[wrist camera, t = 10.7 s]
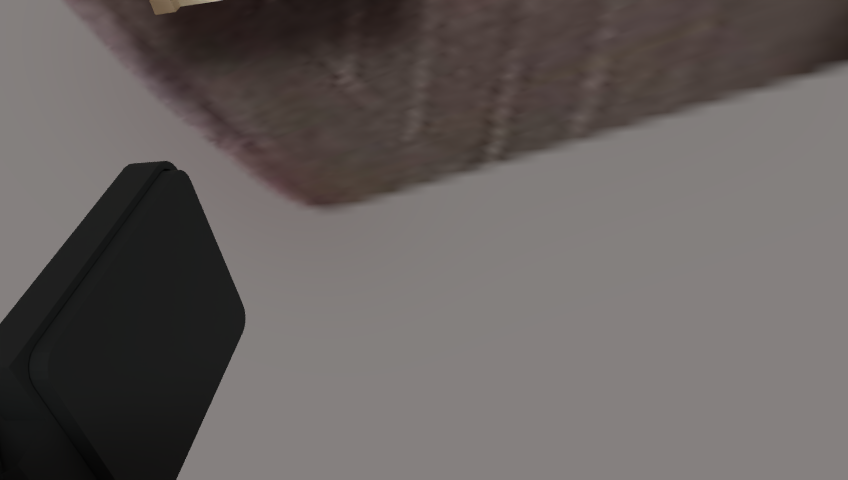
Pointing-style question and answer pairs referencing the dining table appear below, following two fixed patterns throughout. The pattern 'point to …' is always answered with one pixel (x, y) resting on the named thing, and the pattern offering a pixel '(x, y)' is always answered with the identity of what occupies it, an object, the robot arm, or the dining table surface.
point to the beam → (173, 5)
